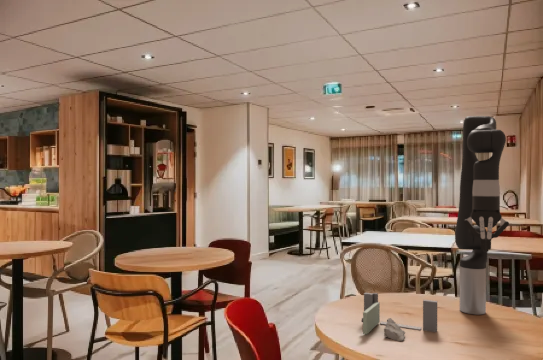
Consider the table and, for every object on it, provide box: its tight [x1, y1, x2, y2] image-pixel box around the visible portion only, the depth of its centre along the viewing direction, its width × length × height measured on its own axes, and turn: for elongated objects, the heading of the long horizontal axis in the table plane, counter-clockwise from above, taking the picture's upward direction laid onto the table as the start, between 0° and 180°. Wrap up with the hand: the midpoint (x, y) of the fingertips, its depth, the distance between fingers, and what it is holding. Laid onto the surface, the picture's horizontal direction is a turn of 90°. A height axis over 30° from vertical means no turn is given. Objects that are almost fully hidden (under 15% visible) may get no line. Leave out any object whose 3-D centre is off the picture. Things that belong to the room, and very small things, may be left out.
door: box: [361, 301, 381, 335], centre depth 144 cm, size 2×14×7 cm, turn 149°
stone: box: [383, 317, 406, 342], centre depth 139 cm, size 6×12×4 cm, turn 160°
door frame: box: [363, 292, 438, 333], centre depth 147 cm, size 3×24×10 cm, turn 64°
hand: (485, 250), depth 130 cm, fingers closed
